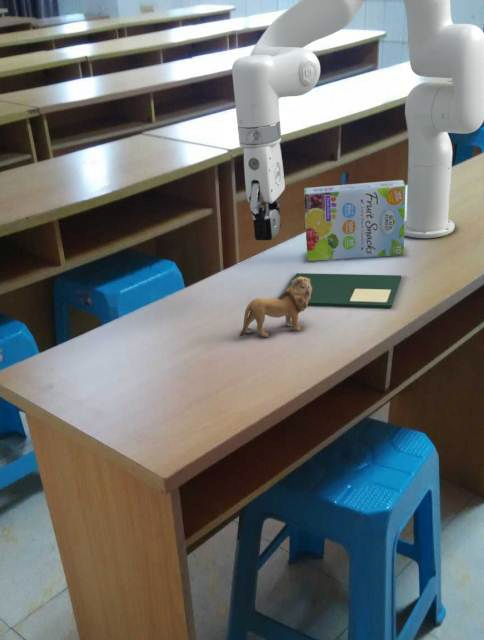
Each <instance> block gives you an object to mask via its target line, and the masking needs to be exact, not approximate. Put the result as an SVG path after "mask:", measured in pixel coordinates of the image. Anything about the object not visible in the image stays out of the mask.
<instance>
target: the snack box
mask: <svg viewBox="0 0 484 640" xmlns="http://www.w3.org/2000/svg"><path fill="white" fill-rule="evenodd" d="M406 186H407V185H406V184H405V181H404V180H403V179H395V180H384V181H374V182H373V181H372V182H362V183H361V182H360V183H350V184H349V183H348V184H339V185H338V184H337V185H336V184H335V185H324V186H314V187H313V186H312V187H311V186H310V187H304V189H303V193H304V199H303V201H304V221H305V222H304V223H305V241H306V259H307V260H306V261H308V262H317V261H326V260H327V261H329V260H331V261H332V260H345V259H346V260H347V259H361V258H362V259H363V258H376V257H377V258H379V257H392V256H404V254H405V235H404V228H405V221H406V190H407V189H406Z"/></svg>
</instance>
